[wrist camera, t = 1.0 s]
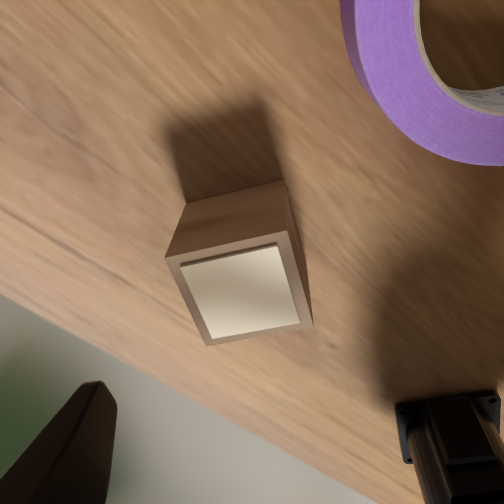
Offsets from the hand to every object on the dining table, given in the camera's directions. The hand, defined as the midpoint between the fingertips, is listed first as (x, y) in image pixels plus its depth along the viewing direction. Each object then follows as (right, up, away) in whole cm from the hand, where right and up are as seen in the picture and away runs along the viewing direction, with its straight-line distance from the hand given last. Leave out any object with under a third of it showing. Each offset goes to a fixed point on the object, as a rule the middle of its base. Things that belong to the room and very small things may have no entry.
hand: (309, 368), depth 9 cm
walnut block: (-1, +3, +13) cm, 13 cm away
